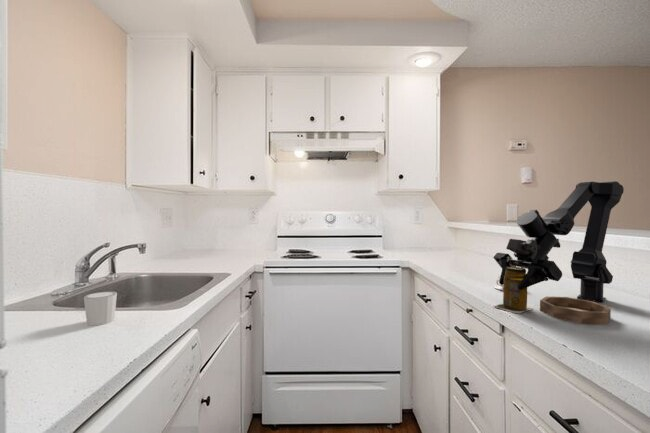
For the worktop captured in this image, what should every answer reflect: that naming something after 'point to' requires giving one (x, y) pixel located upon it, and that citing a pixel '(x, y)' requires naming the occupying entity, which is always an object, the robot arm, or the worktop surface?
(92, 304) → the shot glass
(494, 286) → the teacup
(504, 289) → the condiment
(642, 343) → the worktop surface
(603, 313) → the ring seat
